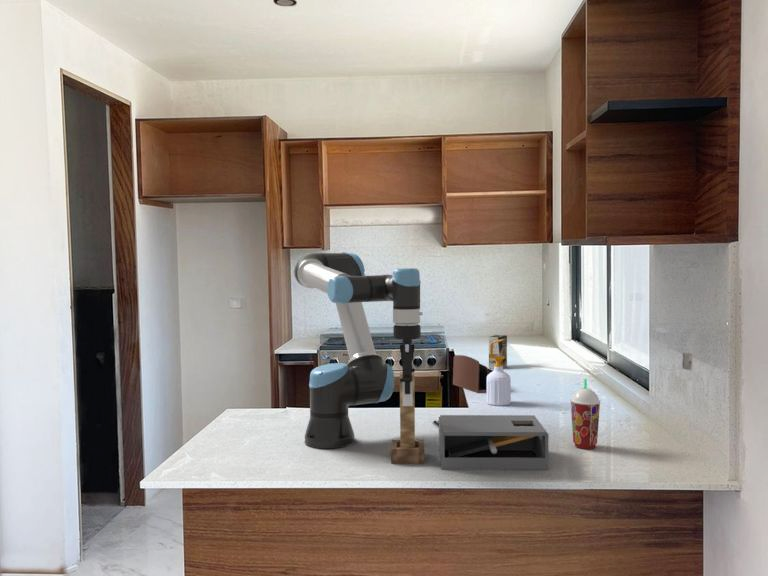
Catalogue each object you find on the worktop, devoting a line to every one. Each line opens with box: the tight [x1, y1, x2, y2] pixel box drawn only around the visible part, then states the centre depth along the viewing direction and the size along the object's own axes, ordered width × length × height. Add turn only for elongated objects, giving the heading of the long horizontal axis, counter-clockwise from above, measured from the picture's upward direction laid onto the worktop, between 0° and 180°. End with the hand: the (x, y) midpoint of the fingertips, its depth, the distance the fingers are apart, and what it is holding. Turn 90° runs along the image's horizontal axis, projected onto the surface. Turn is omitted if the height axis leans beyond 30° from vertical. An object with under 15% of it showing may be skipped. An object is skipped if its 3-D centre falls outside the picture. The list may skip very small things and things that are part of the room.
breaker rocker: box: [447, 436, 535, 457], centre depth 180 cm, size 24×15×2 cm, turn 87°
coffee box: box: [488, 334, 508, 370], centre depth 326 cm, size 9×6×16 cm
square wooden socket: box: [390, 439, 425, 465], centre depth 181 cm, size 9×9×4 cm
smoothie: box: [570, 378, 601, 450], centre depth 191 cm, size 8×8×20 cm
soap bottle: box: [486, 339, 512, 407], centre depth 247 cm, size 9×9×25 cm
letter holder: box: [452, 354, 494, 394], centre depth 277 cm, size 10×20×14 cm, turn 25°
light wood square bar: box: [399, 371, 416, 448], centre depth 181 cm, size 4×4×24 cm
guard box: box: [438, 414, 549, 471], centre depth 180 cm, size 28×18×10 cm, turn 87°
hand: (407, 400), depth 180 cm, fingers open, 13 cm apart
